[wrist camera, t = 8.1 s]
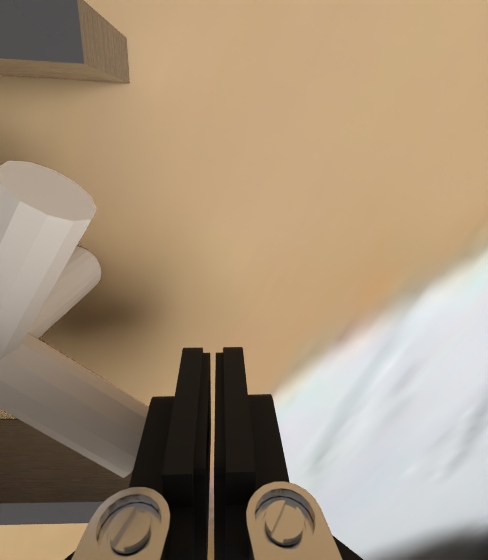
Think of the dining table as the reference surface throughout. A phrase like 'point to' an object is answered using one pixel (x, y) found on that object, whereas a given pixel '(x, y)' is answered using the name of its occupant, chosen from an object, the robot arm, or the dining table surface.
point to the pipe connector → (55, 320)
